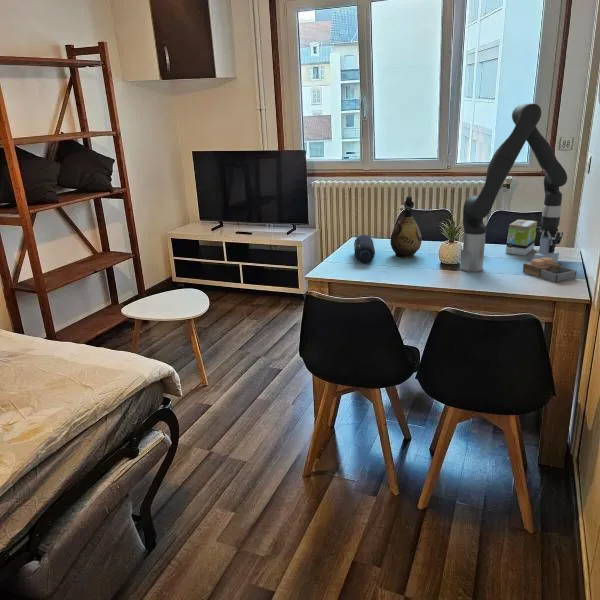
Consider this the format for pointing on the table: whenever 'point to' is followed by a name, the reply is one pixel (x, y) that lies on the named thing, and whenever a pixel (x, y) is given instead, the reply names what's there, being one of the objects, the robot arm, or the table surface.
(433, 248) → the table surface
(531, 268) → the flat wooden box
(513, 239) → the tea box
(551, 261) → the tile
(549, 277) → the tray
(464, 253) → the robot arm
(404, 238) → the ceramic jug
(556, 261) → the scraper block
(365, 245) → the portable speaker
